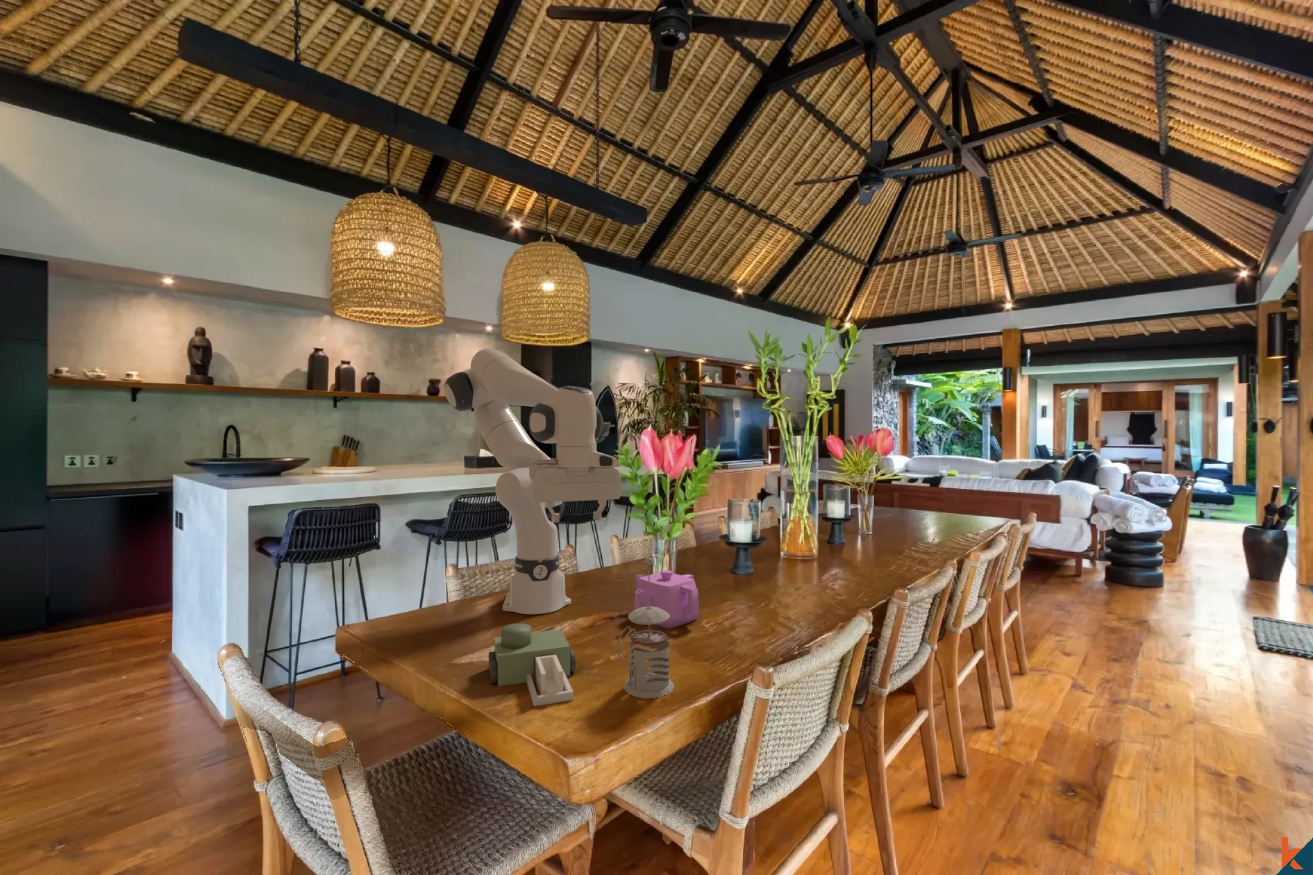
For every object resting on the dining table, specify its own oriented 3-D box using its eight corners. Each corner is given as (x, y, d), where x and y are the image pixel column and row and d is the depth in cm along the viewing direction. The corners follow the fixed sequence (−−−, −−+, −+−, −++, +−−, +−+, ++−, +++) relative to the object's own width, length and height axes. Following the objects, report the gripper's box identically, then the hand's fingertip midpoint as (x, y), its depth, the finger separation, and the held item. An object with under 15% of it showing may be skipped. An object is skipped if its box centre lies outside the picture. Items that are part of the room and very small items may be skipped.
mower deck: (488, 666, 119) (488, 623, 119) (566, 655, 125) (566, 615, 125) (495, 712, 100) (495, 661, 100) (587, 697, 106) (587, 649, 106)
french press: (684, 688, 109) (684, 559, 109) (633, 706, 103) (633, 567, 102) (655, 670, 117) (655, 549, 117) (606, 685, 111) (605, 557, 110)
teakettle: (701, 629, 141) (701, 579, 141) (632, 629, 141) (632, 579, 141) (696, 607, 158) (696, 563, 158) (635, 607, 158) (635, 563, 158)
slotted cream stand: (535, 682, 112) (535, 657, 112) (556, 679, 113) (555, 654, 113) (541, 701, 104) (541, 674, 104) (563, 697, 106) (563, 670, 106)
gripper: (531, 460, 120) (531, 526, 121) (624, 458, 127) (624, 520, 128) (527, 459, 126) (527, 521, 127) (616, 457, 133) (616, 516, 134)
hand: (576, 520), depth 127 cm, fingers open, 8 cm apart
